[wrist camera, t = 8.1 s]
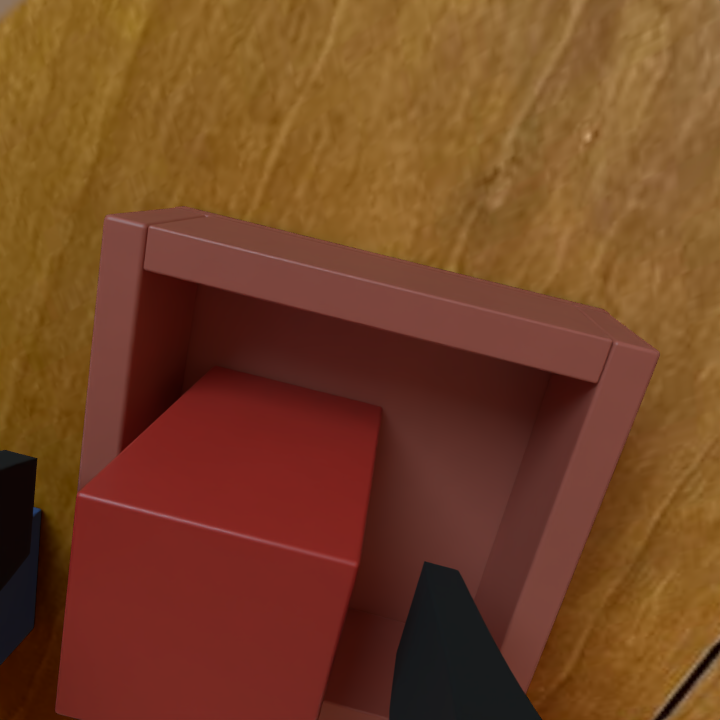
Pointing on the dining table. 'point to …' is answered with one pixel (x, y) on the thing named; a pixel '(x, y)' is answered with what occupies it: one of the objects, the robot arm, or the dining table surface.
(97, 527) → the red block
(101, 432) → the red bin
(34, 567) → the blue block
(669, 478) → the dining table surface
